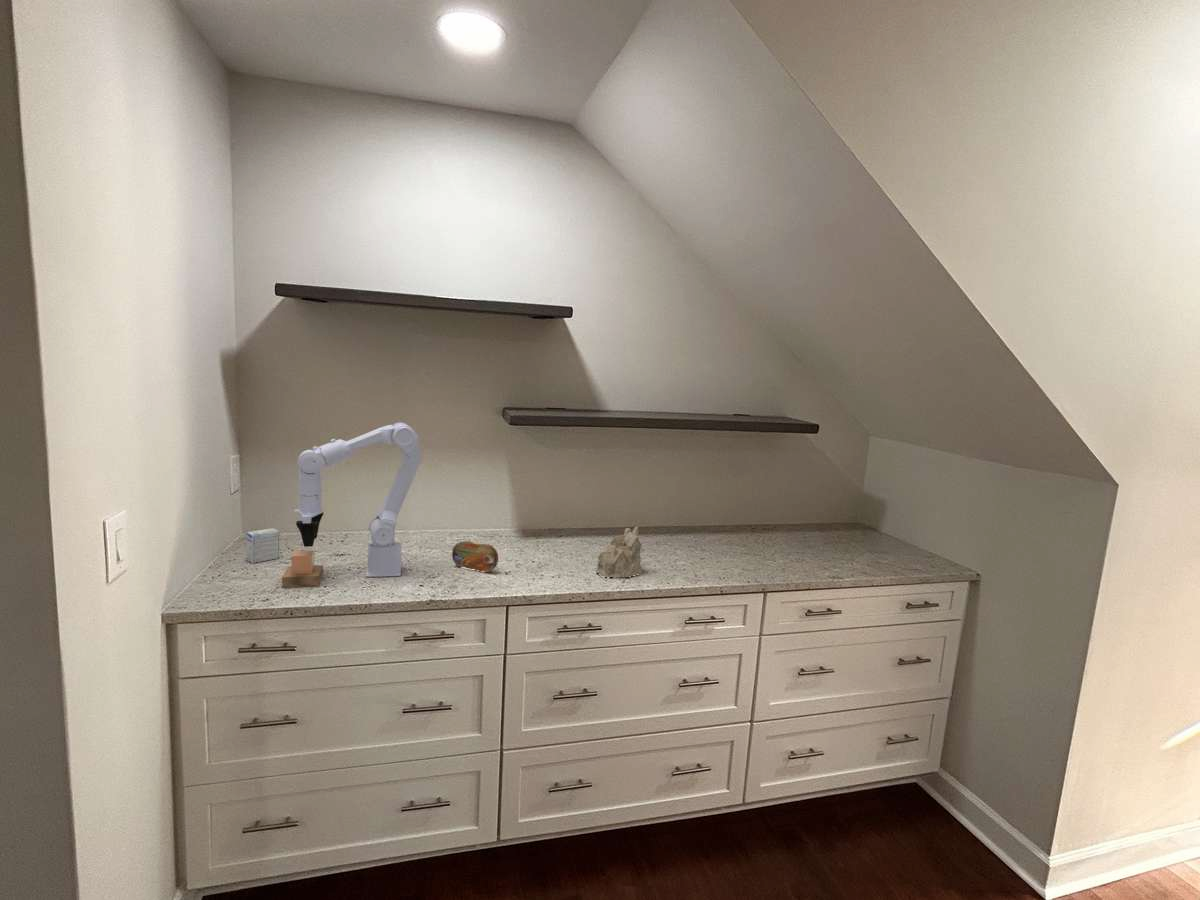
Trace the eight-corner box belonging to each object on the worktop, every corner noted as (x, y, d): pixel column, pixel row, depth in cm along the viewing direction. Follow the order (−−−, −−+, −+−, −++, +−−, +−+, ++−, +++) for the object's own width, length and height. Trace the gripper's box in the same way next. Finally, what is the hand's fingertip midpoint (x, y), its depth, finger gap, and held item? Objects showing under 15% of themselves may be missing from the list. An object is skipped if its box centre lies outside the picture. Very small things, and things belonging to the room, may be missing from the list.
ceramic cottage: (629, 560, 210) (630, 516, 207) (649, 578, 194) (650, 532, 192) (584, 565, 204) (585, 520, 202) (601, 584, 189) (602, 537, 186)
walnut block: (323, 575, 179) (323, 565, 178) (318, 586, 170) (318, 575, 170) (288, 576, 176) (288, 566, 176) (282, 588, 167) (282, 577, 167)
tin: (451, 566, 193) (451, 540, 192) (457, 563, 196) (457, 537, 195) (493, 575, 187) (494, 547, 186) (499, 572, 190) (500, 545, 189)
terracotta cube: (314, 567, 176) (314, 550, 175) (311, 573, 171) (311, 555, 170) (294, 568, 174) (294, 550, 174) (291, 574, 169) (291, 556, 169)
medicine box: (273, 555, 193) (273, 527, 192) (280, 558, 190) (279, 530, 189) (245, 560, 187) (245, 532, 186) (252, 564, 184) (251, 535, 183)
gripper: (298, 488, 178) (298, 535, 180) (289, 500, 164) (290, 550, 166) (325, 488, 180) (325, 534, 182) (319, 499, 167) (319, 549, 168)
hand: (310, 542), depth 174 cm, fingers open, 7 cm apart
